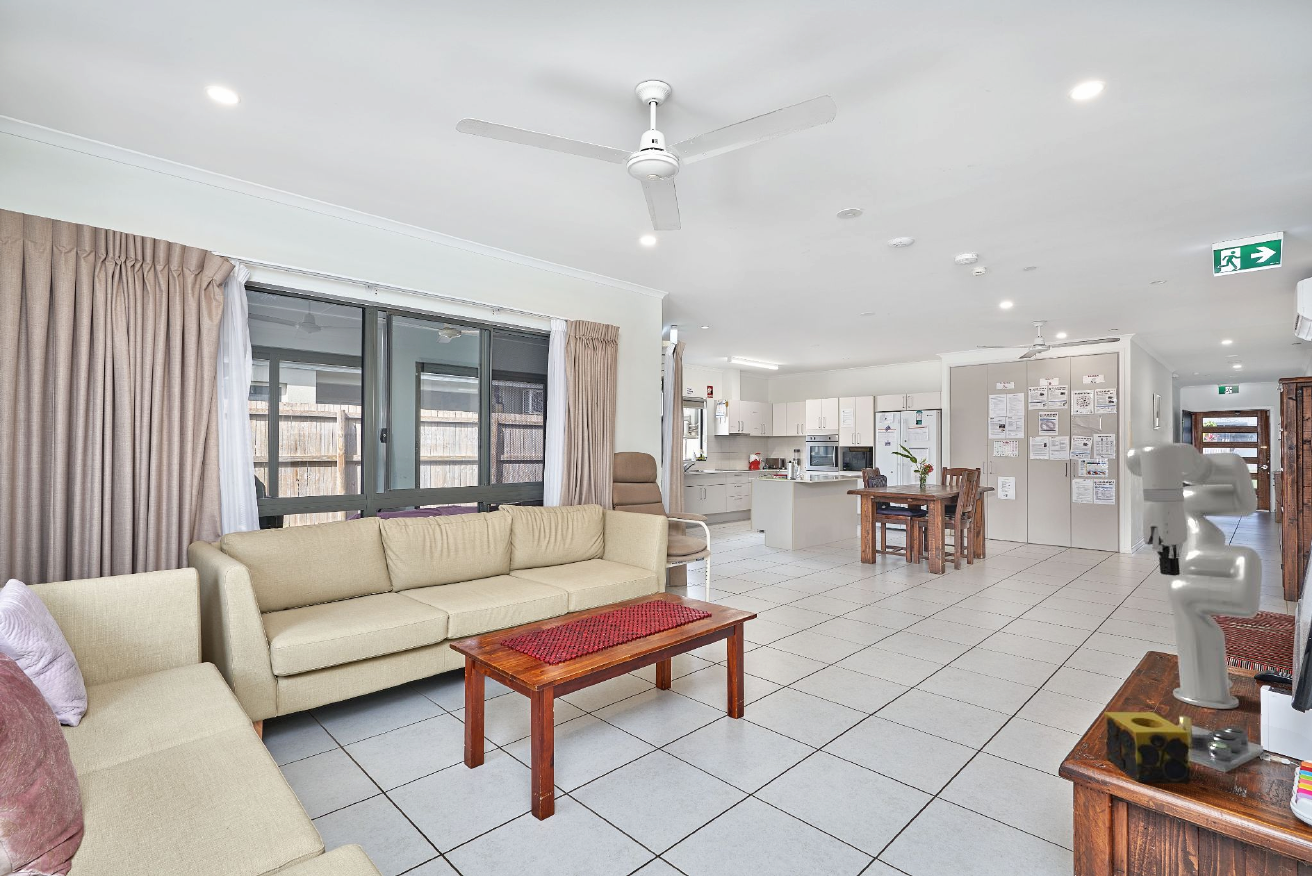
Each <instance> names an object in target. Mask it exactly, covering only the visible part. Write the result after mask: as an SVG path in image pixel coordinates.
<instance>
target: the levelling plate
mask: <svg viewBox="0 0 1312 876" xmlns="http://www.w3.org/2000/svg"><path fill="white" fill-rule="evenodd" d="M1176 726H1178V727H1180V725H1179V724H1177V725H1176ZM1213 731H1214V730H1210V729H1205V728H1202V727H1198V726H1195V725H1192V734H1197V735H1209V733H1210V732H1213ZM1221 731H1226V732H1230V733H1233V734H1234V735H1235V736H1237V737H1238V738H1240V740H1241V751H1239V752H1231V748H1230V747H1229V746H1227V745H1225V744H1223V743H1220V742H1210V743H1207V748H1205V747H1189V753H1188V755H1189V762H1192V763H1196V764H1199V765H1201V766H1205V767H1208V768H1211V769H1214V770H1217V771H1219V772H1223V773H1225V774H1226V773H1227V772H1229V771H1231V770H1234V769H1235V768H1238V767H1239V766H1242V765H1243V764H1245V763H1247V762H1249V761H1251V760H1253V759H1255V758H1257V757H1258V756H1260V754H1261V753H1262V752H1263V753H1264V746H1263V745H1260V744H1257V743H1254V742H1251V741H1248V732H1247V730H1245V729H1243V728H1240V727H1238V726H1232V725H1224V726H1222V727H1221ZM1261 755H1262V754H1261Z"/></svg>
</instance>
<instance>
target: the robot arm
mask: <svg viewBox="0 0 1312 876" xmlns="http://www.w3.org/2000/svg"><path fill="white" fill-rule="evenodd" d="M1124 459H1125V465H1126V467H1127V469H1128V470H1129V472H1130V473H1131V474H1133V475H1134V476H1137V477H1141V481H1142V484H1141V485H1142V496H1143V512H1142V514H1143V515H1142V533H1143V535H1142V536H1143V542H1144V544H1145V545H1148V546H1150V545H1152V551H1154V552H1156V554H1157V557H1158V561H1159V571H1160V574H1161V575H1165V576H1167V575H1168V576H1173V577H1171V578H1170V579H1169V581H1168V583H1167V584H1166V585H1167V587H1166V588H1167V595H1168V596H1167V597H1168V599H1169V601H1170V606H1171V610H1172V614H1173V620H1174V627H1175V639H1176V640H1175V641H1176V650H1177V651H1176V652H1177V662H1178V674H1179V685H1180V686H1179V687H1176V688H1174V689H1173V692H1172V693H1173V694H1172V695H1173V697H1175V698H1176V699H1177V700H1179V701H1182V702H1184V703H1186V704H1189V705H1193V706H1197V707H1202V708H1210V709H1218V710H1219V709H1221V710H1222V709H1223V710H1225V709H1227V710H1228V709H1235V708H1237V707H1239V705H1240V703H1239V699H1238V698H1237V697H1235V696H1234V695H1231V694H1230V688H1231V687H1233V686H1234V683H1233V681H1231V680H1230V679H1229V673H1228V662H1227V661H1228V660H1227V649H1226V639H1225V634H1224V633H1225V632H1224V630H1223V629H1222V627H1221V626H1220V624H1219V623H1218V622H1216V620H1215V619H1214V618H1213V617H1212V616H1222V617H1231V618H1238V619H1239V618H1240V619H1252V618H1254V617H1256V616H1257V615H1258V613H1259V611H1260V607H1261V605H1260V604H1261V595H1262V594H1261V593H1262V581H1263V565H1262V559H1261V556H1260V555H1259V553H1258V552H1257V551H1256V550H1255V549H1254V548H1251V547H1250V546H1244V545H1233V544H1232V545H1231V544H1230V545H1229V544H1226V534H1225V533H1224V532H1223V530H1222V529H1221V528H1219V527H1218V525H1217V524H1215V522H1212V521H1211V520H1209V519H1207V518H1206V517H1234V518H1235V517H1236V518H1237V517H1240V518H1242V517H1244V518H1245V517H1249V516H1252V515H1254V514H1255V513H1256V511H1257V508H1258V498H1257V493H1256V489H1255V487H1254V483H1253V480H1252V476H1251V473H1250V472H1251V471H1250V470H1249V467H1248V464H1247V462H1246V461H1245V460H1244V458H1243V457H1242V455H1240V454H1237V453H1235V452H1220V453H1219V452H1217V453H1201V452H1200V451H1199V450H1198V448H1196V447H1195V446H1194V445H1192V444H1191V443H1187V442H1170V443H1168V442H1167V443H1151V444H1150V443H1149V444H1147V443H1146V444H1136V445H1132V446H1130V447H1129V448H1128V449H1127V451H1126V453H1125V458H1124ZM1184 484H1187V486H1184ZM1180 549H1181V553H1180ZM1179 558H1180V559H1179ZM1180 569H1181V571H1182V573H1183V574H1181V571H1180Z"/></svg>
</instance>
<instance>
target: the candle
mask: <svg viewBox="0 0 1312 876" xmlns="http://www.w3.org/2000/svg"><path fill="white" fill-rule="evenodd" d="M1103 715H1104V716H1103V717H1104V719H1105V726H1106V731H1107V734H1106V740H1105V746H1106V749H1105V750H1106V752H1105V753H1106V760H1108V761H1109V763H1112V764H1113V765H1114V767H1116V768H1118V769H1119V770H1120V771H1122V772H1123V773H1125V775H1128V776H1129V777H1131V779H1133V780H1134V781H1135V782H1137V783H1141V784H1142V783H1143V784H1145V783H1146V784H1147V783H1148V784H1150V783H1151V784H1153V783H1154V784H1155V783H1156V784H1157V783H1158V784H1178V782H1179V784H1180V783H1181V784H1191V782H1192V778H1191V774H1192V772H1191V768H1190V761H1189V755H1188V753H1189V742H1188V733H1187V731H1185V730H1183V729H1181V728H1180V727H1178V726H1177V725H1176V724H1174V723H1172V722H1171V721H1169V720H1168V719H1165V718H1163V717H1162V716H1160V715H1158V714H1157V713H1155V712H1151V711H1147V712H1145V711H1144V712H1143V711H1142V712H1137V711H1135V712H1134V711H1133V712H1131V711H1129V712H1128V711H1127V712H1126V711H1125V712H1123V711H1122V712H1121V711H1119V712H1118V711H1113V712H1112V711H1109V712H1108V711H1106V712H1104V714H1103Z"/></svg>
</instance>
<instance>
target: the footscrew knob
mask: <svg viewBox="0 0 1312 876" xmlns="http://www.w3.org/2000/svg"><path fill="white" fill-rule="evenodd" d="M1178 722H1179V723H1178V725H1180V728H1181V729H1183V730H1185V731H1187V733H1188V742H1189V747H1205V748H1207V743H1210V742H1220V743H1223V744H1225V745H1227V746H1229V747H1230V748H1231V752H1239V751H1241V740H1240V738H1238V737H1237V736H1235V735H1234V734H1233V733H1230V732H1226V731H1222V730H1220V729H1219V730H1216V729H1215V730H1212V731H1213V732H1210V733H1209V735H1197V734H1192V726H1193V724H1192V718H1191V717H1190V716H1187V715H1178Z"/></svg>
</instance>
